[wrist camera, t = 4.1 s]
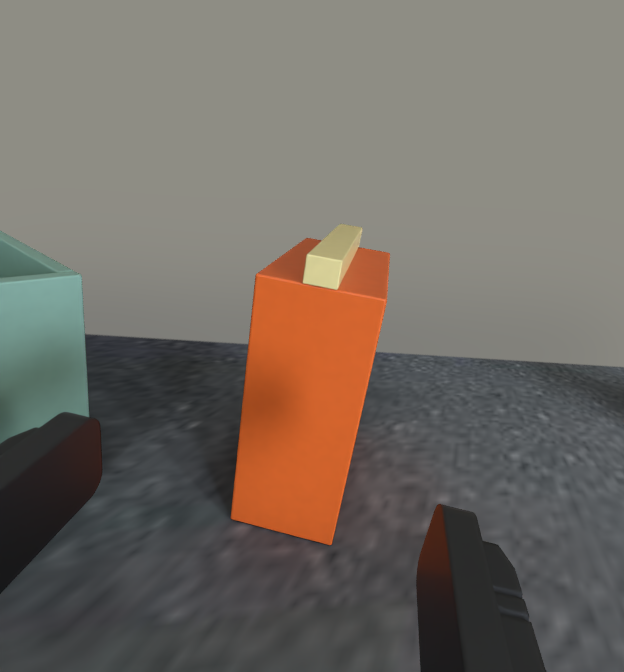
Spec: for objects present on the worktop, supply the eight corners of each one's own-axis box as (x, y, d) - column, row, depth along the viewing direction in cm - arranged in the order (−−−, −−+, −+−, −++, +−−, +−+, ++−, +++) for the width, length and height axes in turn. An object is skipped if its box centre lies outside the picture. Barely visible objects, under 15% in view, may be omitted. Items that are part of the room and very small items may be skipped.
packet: (229, 521, 19) (257, 244, 14) (281, 412, 27) (309, 218, 22) (331, 548, 18) (394, 270, 14) (351, 428, 26) (394, 233, 22)
